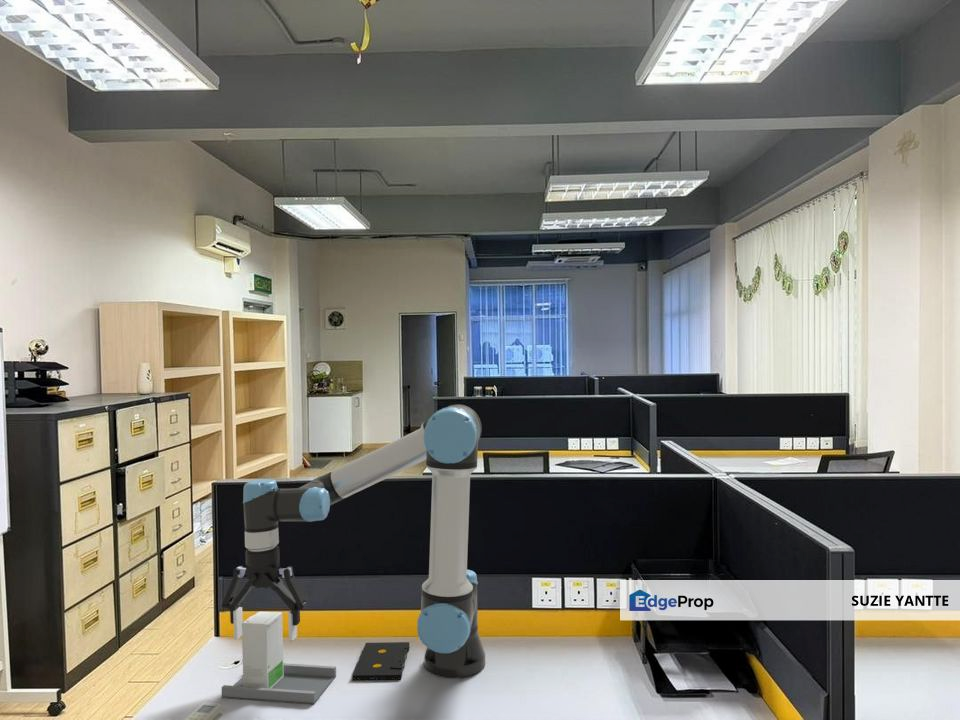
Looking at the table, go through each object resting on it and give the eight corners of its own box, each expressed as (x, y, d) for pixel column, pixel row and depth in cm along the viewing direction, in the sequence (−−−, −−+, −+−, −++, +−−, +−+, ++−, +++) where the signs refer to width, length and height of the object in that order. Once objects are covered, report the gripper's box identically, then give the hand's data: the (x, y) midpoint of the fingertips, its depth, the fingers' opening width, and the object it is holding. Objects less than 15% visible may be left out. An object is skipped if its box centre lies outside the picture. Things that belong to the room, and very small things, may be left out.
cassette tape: (400, 682, 156) (400, 673, 156) (352, 683, 156) (351, 674, 156) (409, 649, 174) (409, 641, 174) (366, 649, 174) (365, 641, 174)
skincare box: (267, 693, 150) (266, 625, 150) (240, 691, 151) (239, 623, 151) (284, 676, 158) (283, 611, 158) (259, 674, 159) (258, 609, 159)
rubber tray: (336, 676, 158) (336, 666, 158) (314, 704, 146) (313, 693, 146) (250, 670, 162) (250, 661, 162) (221, 697, 149) (221, 687, 149)
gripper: (319, 542, 156) (322, 632, 156) (221, 542, 160) (225, 629, 160) (306, 552, 149) (309, 646, 149) (203, 551, 153) (207, 643, 153)
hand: (265, 638), depth 154 cm, fingers open, 13 cm apart
